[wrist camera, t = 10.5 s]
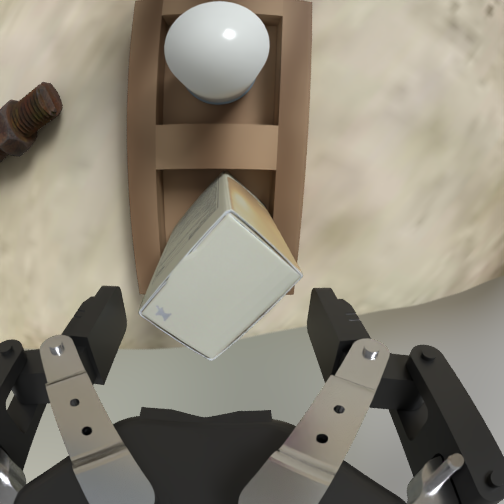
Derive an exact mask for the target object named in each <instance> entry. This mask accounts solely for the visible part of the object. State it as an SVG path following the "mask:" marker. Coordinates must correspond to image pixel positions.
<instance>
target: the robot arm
mask: <svg viewBox="0 0 504 504" xmlns="http://www.w3.org/2000/svg"><path fill="white" fill-rule="evenodd" d="M126 327H127V319H126V313H125V308H124V303H123V298H122V293H121V289H120V287H119V286H102V287H101V288H100V289H99V291H98V292H97V294H96V295H95V297H90V298H89V299H87V300H86V301H85V302H83V303H82V305H81V306H80V307H79V309H78V311H77V312H76V313H75V315H74V317H73V318H72V319H71V321H70V322H69V324H68V325H67V327H66V328H65V330H64V331H63V333H62V334H61V335H56V336H52V337H50V338H48V339H46V340H45V341H44V342H43V343H42V344H41V346H40V349H37V350H27V351H24V349H23V347H22V344H21V343H20V342H19V341H17V340H6V341H4V342H2V343H0V504H406V503H405V501H403V500H402V499H401V498H400V497H398V496H397V495H395V494H394V493H392V492H391V491H389V490H387V489H386V488H384V487H383V486H381V485H379V484H378V483H376V482H375V481H373V480H372V479H370V478H369V477H367V476H366V475H364V474H363V473H361V472H360V471H359V470H357V469H356V468H354V467H353V466H351V465H350V464H348V463H347V462H346V461H344V458H345V456H346V454H347V452H348V450H349V448H350V446H351V444H352V442H353V440H354V438H355V436H356V434H357V432H358V430H359V428H360V426H361V424H362V422H363V420H364V417H365V415H366V413H367V411H368V409H369V407H370V408H381V409H389V412H390V414H391V417H392V419H393V422H394V425H395V427H396V430H397V433H398V435H399V437H400V440H401V443H402V446H403V449H404V451H405V454H406V457H407V460H408V462H409V465H410V468H411V471H412V474H413V477H414V478H412V480H411V481H410V482H409V484H408V487H407V496H408V501H407V504H497V503H499V502H500V501H501V500H503V499H504V456H503V455H502V453H501V451H500V449H499V447H498V445H497V443H496V441H495V440H494V438H493V436H492V434H491V432H490V430H489V429H488V427H487V425H486V423H485V422H484V420H483V418H482V416H481V415H480V413H479V411H478V410H477V408H476V406H475V405H474V403H473V401H472V400H471V398H470V396H469V395H468V393H467V391H466V390H465V388H464V387H463V385H462V383H461V382H460V380H459V379H458V377H457V376H456V374H455V372H454V371H453V369H452V368H451V367H450V365H449V363H448V362H447V360H446V359H445V357H444V356H443V354H442V353H441V352H440V351H439V350H437V349H436V348H434V347H432V346H429V345H418V346H415V347H414V348H413V349H412V350H411V353H410V355H409V356H408V355H399V354H391V353H390V352H389V349H388V348H387V346H385V345H384V344H383V343H382V342H380V341H377V340H374V339H371V338H370V336H369V334H368V333H367V331H366V329H365V327H364V326H363V324H362V323H361V321H360V320H359V318H358V316H357V314H356V312H355V311H354V309H353V307H352V306H351V305H350V304H349V303H347V302H346V301H345V300H343V299H337V297H336V296H335V294H334V292H333V290H332V289H331V288H313V289H312V292H311V299H310V305H309V312H308V319H307V329H308V334H309V337H310V340H311V343H312V346H313V349H314V352H315V355H316V357H317V360H318V363H319V366H320V369H321V372H322V375H323V378H324V381H325V385H324V386H323V388H322V390H321V391H320V393H319V394H318V396H317V397H316V398H315V400H314V401H313V403H312V405H311V406H310V407H309V409H308V411H307V412H306V413H305V415H304V416H303V418H302V419H301V420H300V422H299V423H298V425H297V426H294V425H292V424H289V423H287V422H283V421H279V420H274V419H272V416H271V410H264V411H237V412H233V413H228V414H222V415H218V416H212V417H199V416H195V415H191V414H187V413H183V412H179V411H175V410H171V409H158V408H146V407H142V408H141V412H140V416H136V417H131V418H127V419H124V420H121V421H119V422H117V423H115V424H112V422H111V420H110V419H109V417H108V415H107V413H106V411H105V409H104V407H103V405H102V403H101V402H100V399H99V398H98V395H97V393H96V391H95V389H94V387H93V384H101V385H104V384H105V381H106V378H107V376H108V373H109V371H110V368H111V366H112V363H113V361H114V358H115V355H116V353H117V351H118V348H119V346H120V344H121V341H122V339H123V336H124V334H125V332H126ZM11 390H12V391H13V393H14V397H13V399H12V401H11V403H10V405H9V407H8V409H7V410H6V399H7V397H8V395H9V393H10V391H11ZM47 403H51V407H52V409H53V413H54V416H55V419H56V422H57V425H58V428H59V430H60V433H61V436H62V438H63V441H64V444H65V446H66V449H67V451H68V454H69V456H67V457H66V458H65V459H63V460H62V461H60V462H59V463H57V464H56V465H54V466H53V467H52V468H50V469H49V470H47V471H46V472H44V473H43V474H41V475H40V476H38V477H37V478H35V479H34V480H32V481H31V482H29V483H28V484H26V478H25V475H24V473H23V468H24V465H25V462H26V459H27V456H28V452H29V450H30V447H31V444H32V441H33V438H34V435H35V433H36V430H37V427H38V425H39V422H40V419H41V417H42V414H43V412H44V409H45V407H46V404H47Z"/></svg>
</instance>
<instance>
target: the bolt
mask: <svg viewBox="0 0 504 504" xmlns="http://www.w3.org/2000/svg"><path fill="white" fill-rule="evenodd" d="M62 106H63V105H62V102H61V99H60V96H59V94H58V92H57V91H56V89H55V88H54V87H53V85H52V84H51V83H46V82H42V83H41V84H40V85H38V86H37V87H35V89H33V90H32V91H31V92H29V94H28V95H26V96H25V97H24V98H22V99H21V100H20V101H15V100H10V101H8V102H7V103H6V104H5V105H4V106H3V107H2V108H1V109H0V162H1V161H2V160H4V158H6V157H7V156H8V155H13V156H21V155H22V154H23V153H25V152H26V151H27V150H28V149H29V148H30V147H31V145H32V144H33V142H34V141H35V139H36V137H37V131H38V130H39V129H40V128H42V127H43V126H44V125H46V124H47V123H48V122H50V120H52V119H54V118H55V117H56V116H58V115H59V114H60V112H61V110H62Z"/></svg>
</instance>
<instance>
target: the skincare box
mask: <svg viewBox="0 0 504 504" xmlns="http://www.w3.org/2000/svg"><path fill="white" fill-rule="evenodd" d="M302 277H303V274H302V272H301V270H300V268H299V266H298V265H297V263H296V261H295V259H294V257H293V256H292V254H291V252H290V250H289V248H288V246H287V244H286V243H285V241H284V239H283V237H282V235H281V234H280V232H279V230H278V228H277V226H276V225H275V223H274V221H273V219H272V218H271V216H270V214H269V212H268V210H267V209H266V207H265V205H264V204H263V203H262V202H261V201H260V200H259V199H258V198H257V197H256V196H254V195H253V194H252V193H251V192H250V191H249V190H248V189H247V188H246V187H245V186H244V185H243V184H242V183H240V182H239V181H238V180H237V179H236V178H235V177H234V176H232V175H231V174H230V173H229V172H228V171H223V172H222V173H221V174H220V175H219V176H218V177H217V178H216V179H215V180H214V181H213V182H212V183H211V184H210V185H209V186H208V187H207V188H206V190H205V191H204V192H203V193H202V194H201V195H200V196H199V197H198V199H197V200H196V201H195V202H194V203H193V205H192V206H191V207H190V208H189V209H188V210H187V212H186V213H185V214H184V215H183V217H182V218H181V219H180V220H179V222H178V223H177V224H176V226H175V227H174V229H173V231H172V233H171V235H170V238H169V240H168V242H167V245H166V247H165V249H164V251H163V254H162V256H161V258H160V261H159V263H158V265H157V267H156V270H155V272H154V275H153V277H152V279H151V282H150V284H149V286H148V289H147V291H146V294H145V296H144V299H143V301H142V304H141V307H140V309H139V315H140V316H142V317H143V318H145V319H146V320H148V321H149V322H151V323H152V324H153V325H154V326H156V327H157V328H159V329H160V330H162V331H163V332H165V333H166V334H168V335H169V336H171V337H172V338H174V339H175V340H177V341H178V342H180V343H181V344H183V345H184V346H186V347H188V348H189V349H191V350H193V351H194V352H196V353H198V354H200V355H202V356H204V357H205V358H207V359H208V360H214V359H215V358H216V357H217V356H219V355H220V354H222V353H223V352H224V351H225V350H226V349H228V348H229V347H230V346H231V345H233V344H234V343H235V342H236V341H237V340H238V339H240V338H241V337H242V336H243V335H244V334H245V333H246V332H247V331H248V330H249V329H250V328H252V327H253V326H254V325H255V324H256V323H257V322H258V321H259V320H260V319H261V318H262V317H263V316H264V315H265V314H266V313H268V312H269V311H270V310H271V309H272V308H273V307H274V306H275V305H276V304H277V303H278V302H279V301H280V300H281V299H282V298H283V297H284V296H285V295H286V294H287V293H288V292H289V291H290V289H291V288H292V287H293V286H294V285H295V284H296V283H297V282H298V281H299V280H300V279H301V278H302Z"/></svg>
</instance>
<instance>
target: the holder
mask: <svg viewBox="0 0 504 504" xmlns="http://www.w3.org/2000/svg"><path fill="white" fill-rule="evenodd" d="M215 1H224V2H231V3H235V4H239V5H241V6H243V7H245V8H247V9H249V10H251V11H252V12H253V13H254V14H256V15H257V16H258V17H259V18H260V20H261V21H262V22H263V24H264V26H265V28H266V30H267V33H268V36H269V45H270V47H269V54H268V57H267V60H266V62H265V64H264V66H263V68H262V69H261V71H260V72H259V74H258V75H257V77H256V79H255V82H254V84H253V86H252V87H251V89H250V90H249V91H248V93H247V94H246V95H245V96H243V97H242V98H241V99H239V100H237V101H235V102H233V103H230V104H226V105H211V104H207V103H204V102H202V101H200V100H198V99H197V98H195V97H194V96H193V95H192V94H191V93H190V92H189V91H188V90H187V88H186V87H185V85H184V84H183V83H182V82H180V81H179V80H178V79H177V78H176V77H175V75H174V74H173V73H172V72H171V70H170V69H169V67H168V65H167V62H166V59H165V53H164V45H165V39H166V36H167V33H168V31H169V29H170V27H171V26H172V24H173V23H174V22H175V21H176V19H177V18H178V17H179V16H181V15H182V14H183V13H184V12H186V11H187V10H189V9H191V8H193V7H195V6H197V5H200V4H203V3H207V2H215ZM311 48H312V2H307V1H300V0H138V1H135V8H134V16H133V24H132V34H131V45H130V57H129V73H128V95H127V160H128V184H129V201H130V214H131V226H132V237H133V246H134V255H135V264H136V272H137V279H138V286H139V293H140V294H146V291H147V289H148V286H149V284H150V282H151V279H152V277H153V275H154V272H155V270H156V267H157V265H158V263H159V261H160V258H161V256H162V254H163V251H164V249H165V247H166V245H167V242H168V240H169V238H170V235H171V233H172V231H173V229H174V227H175V226H176V224H177V223H178V222H179V220H180V219H181V218H182V217H183V215H184V214H185V213H186V212H187V210H188V209H189V208H190V207H191V206H192V205H193V203H194V202H195V201H196V200H197V199H198V197H199V196H200V195H201V194H202V193H203V192H204V191H205V190H206V188H207V187H208V186H209V185H210V184H211V183H212V182H213V181H214V180H215V179H216V178H217V177H218V176H219V175H220V174H221V173H222V172H223V171H228V172H229V173H230V174H231V175H232V176H234V177H235V178H236V179H237V180H238V181H239V182H240V183H242V184H243V185H244V186H245V187H246V188H247V189H248V190H249V191H250V192H251V193H252V194H253V195H254V196H256V197H257V198H258V199H259V200H260V201H261V202H262V203H263V204H264V205H265V207H266V209H267V210H268V212H269V214H270V216H271V218H272V219H273V221H274V223H275V225H276V226H277V228H278V230H279V232H280V234H281V235H282V237H283V239H284V241H285V243H286V244H287V246H288V248H289V250H290V252H291V254H292V256H293V257H294V259H295V261H296V263H297V258H298V249H299V239H300V228H301V218H302V206H303V195H304V182H305V169H306V155H307V139H308V123H309V103H310V80H311ZM294 286H295V285H294ZM294 286H293V287H292V288H291V289H290V291H289V292H288V293H287V294H286V295H293V294H294Z"/></svg>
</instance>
